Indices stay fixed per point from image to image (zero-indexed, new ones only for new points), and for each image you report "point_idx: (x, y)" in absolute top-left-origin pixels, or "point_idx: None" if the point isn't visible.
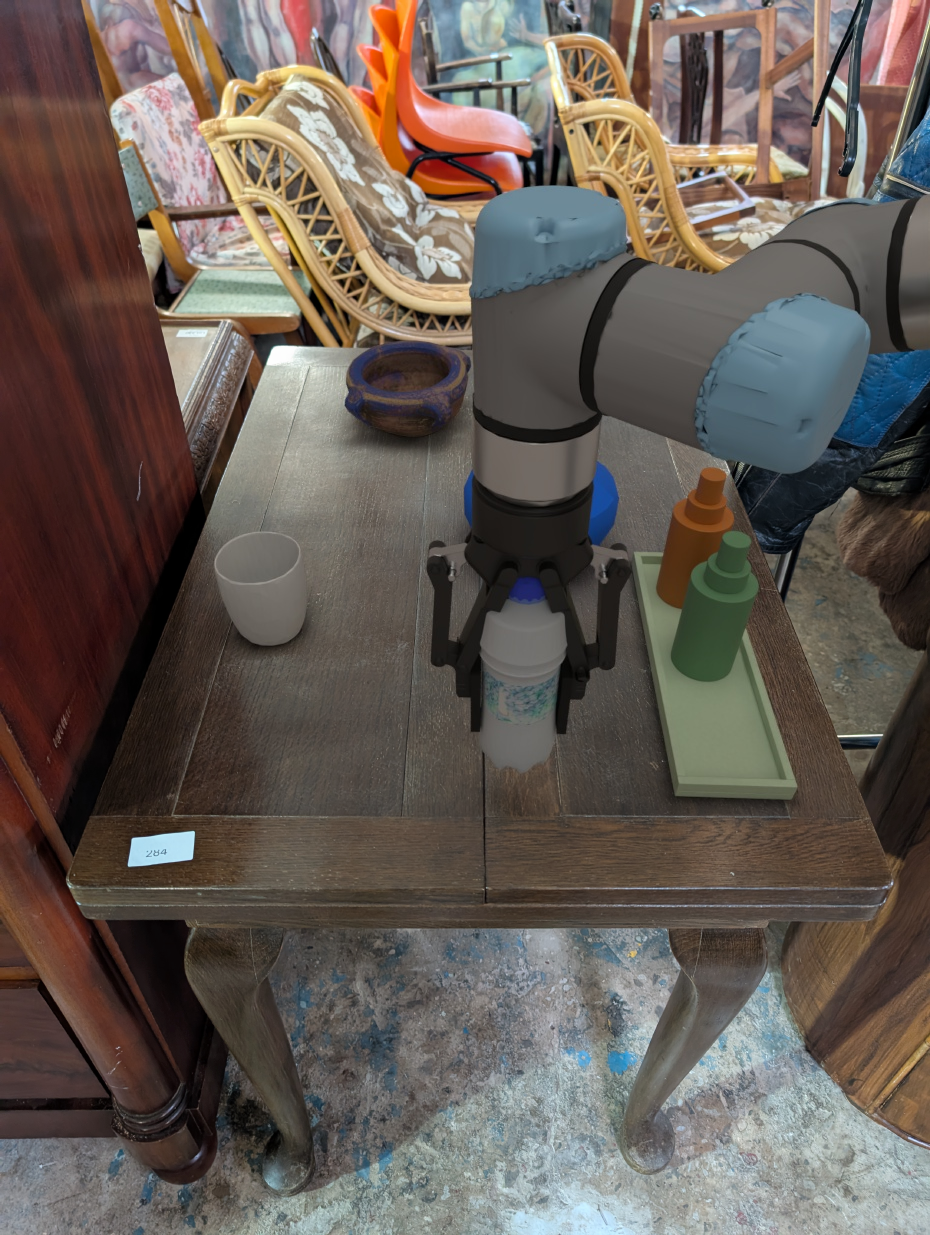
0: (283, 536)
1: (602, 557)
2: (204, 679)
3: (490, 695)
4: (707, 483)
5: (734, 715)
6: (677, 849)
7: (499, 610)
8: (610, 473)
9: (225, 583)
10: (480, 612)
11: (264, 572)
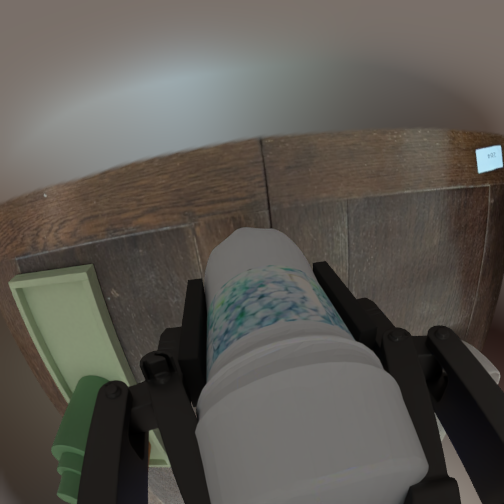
0: None
1: None
2: (479, 299)
3: (329, 302)
4: None
5: (63, 346)
6: (85, 208)
7: (415, 493)
8: None
9: (495, 368)
10: (443, 462)
11: None
